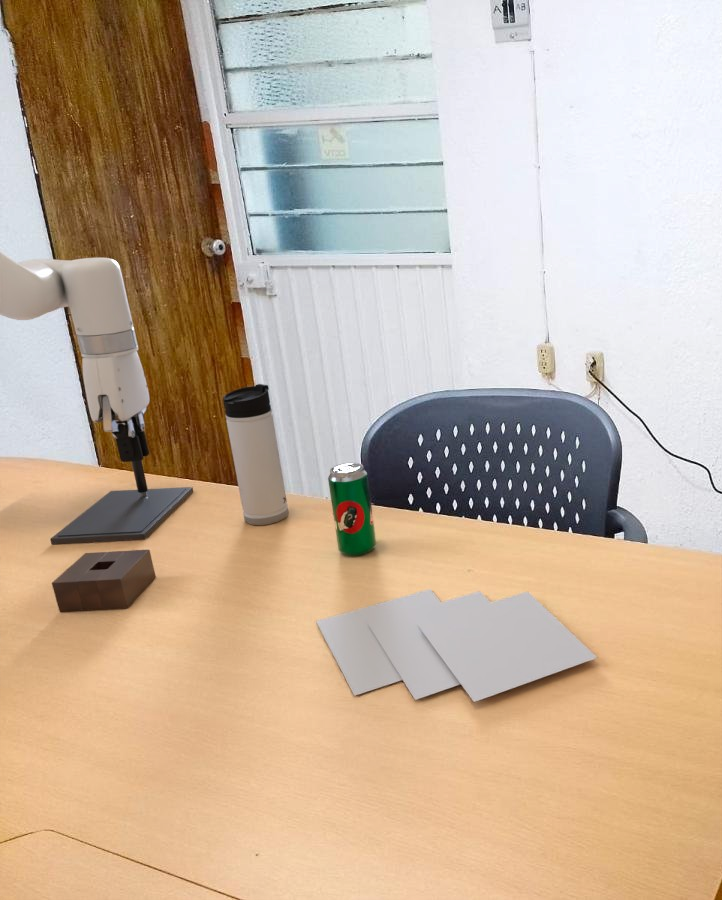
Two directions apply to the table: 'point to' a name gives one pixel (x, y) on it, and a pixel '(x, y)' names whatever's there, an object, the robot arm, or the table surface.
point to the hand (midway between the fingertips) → (135, 457)
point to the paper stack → (451, 644)
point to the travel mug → (256, 455)
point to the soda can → (352, 509)
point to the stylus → (139, 476)
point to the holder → (104, 580)
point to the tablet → (123, 516)
